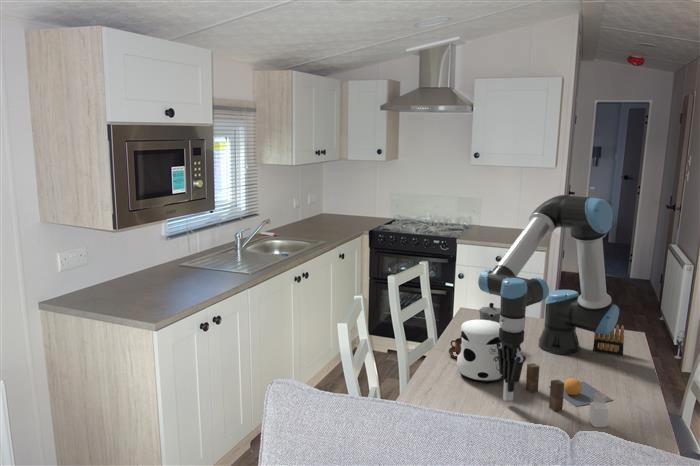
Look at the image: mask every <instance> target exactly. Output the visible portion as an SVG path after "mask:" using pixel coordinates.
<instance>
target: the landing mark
mask: <svg viewBox="0 0 700 466" xmlns="http://www.w3.org/2000/svg"><path fill="white" fill-rule="evenodd" d="M579 382H580V383H581V385H582V390H581V392H580V393H579V394H578V395H575V396H573V395H569V394H568V393H567V392H566V391H565V389H564V394H563V399H564V400H566V401H567V402H569V403H570V404H572V405H573V406H574V407H576V408H577V407H581V406H590V403H592V402H594V393H597V392H599V393H602V392H601V391H600V390H598V389H596V388H595V387H593V386H592V385H590V384H589V383H588V382H586V381H585V380H584V381H579ZM548 388H549V389H550V386H548ZM612 401H614V399H612V398H610V397H609V396H607V395H606V402H607V403H608V402H612ZM606 402H605V403H606Z"/></svg>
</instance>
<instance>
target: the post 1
mask: <svg viewBox="0 0 700 466" xmlns="http://www.w3.org/2000/svg"><path fill="white" fill-rule="evenodd" d="M525 378H526V379H525V390H526V391H527V392H528V393H530V394H533V393H539V383H540V382H539V381H540V379H539V378H540V365H538V364H536V363H534V362H533V363H532V362H531V363H528V364H526V377H525Z"/></svg>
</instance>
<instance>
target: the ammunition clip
mask: <svg viewBox="0 0 700 466" xmlns="http://www.w3.org/2000/svg"><path fill="white" fill-rule="evenodd" d="M593 337H594V338H593V347H592V352H595V353H602V354H607V355H615V356H624V345H625V326H624V325H623V324H622V326H621V327H620V325H619V324H616V326H615V328H614V329H613V330H612V331H611V332H610V333H609V334H607V335H604V334H599V333H595V332H594V336H593Z"/></svg>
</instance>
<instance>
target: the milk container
mask: <svg viewBox="0 0 700 466" xmlns="http://www.w3.org/2000/svg"><path fill="white" fill-rule="evenodd" d="M499 325H500V323H498V322H494V321H490V320H480V319H471V320H466V321H464V322H463V323H462V324H461V327H460V338H461V345H460V351H459V354H458V357H457V358H456V364H457V370H458V372H459V373H460V374H461V375H462V376H464V377H466V378H467V379H469V380H473V381H476V382H481V383H482V382H484V383H485V382H495V381H499V380H501V379H503V377H502V376H503V375H501V374H500V372H499V359H498V349H497V345H496V344H497V343H501V341H500V340H499V328H500V326H499Z"/></svg>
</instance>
